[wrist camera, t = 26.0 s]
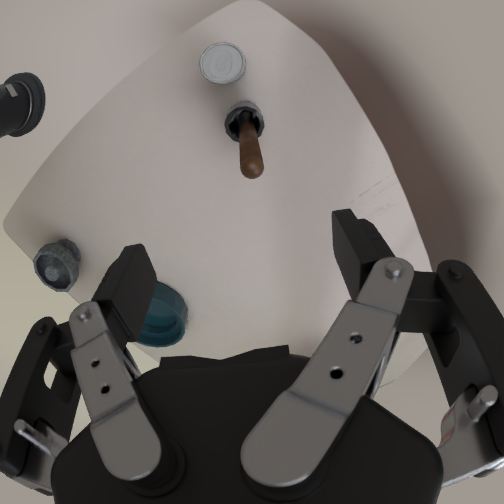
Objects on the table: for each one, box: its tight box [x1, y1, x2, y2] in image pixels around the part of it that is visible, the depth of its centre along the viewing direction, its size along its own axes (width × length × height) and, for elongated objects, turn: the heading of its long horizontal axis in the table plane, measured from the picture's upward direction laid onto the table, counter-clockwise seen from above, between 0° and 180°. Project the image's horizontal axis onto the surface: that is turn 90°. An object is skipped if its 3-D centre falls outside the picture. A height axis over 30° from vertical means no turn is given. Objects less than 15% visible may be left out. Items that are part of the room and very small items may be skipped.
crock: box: [225, 101, 264, 142], centre depth 37 cm, size 5×5×8 cm
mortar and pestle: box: [33, 239, 80, 292], centre depth 47 cm, size 11×9×12 cm
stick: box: [239, 112, 264, 179], centre depth 32 cm, size 2×2×20 cm
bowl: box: [137, 282, 188, 347], centre depth 58 cm, size 15×15×5 cm
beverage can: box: [200, 43, 246, 84], centre depth 31 cm, size 5×5×12 cm
